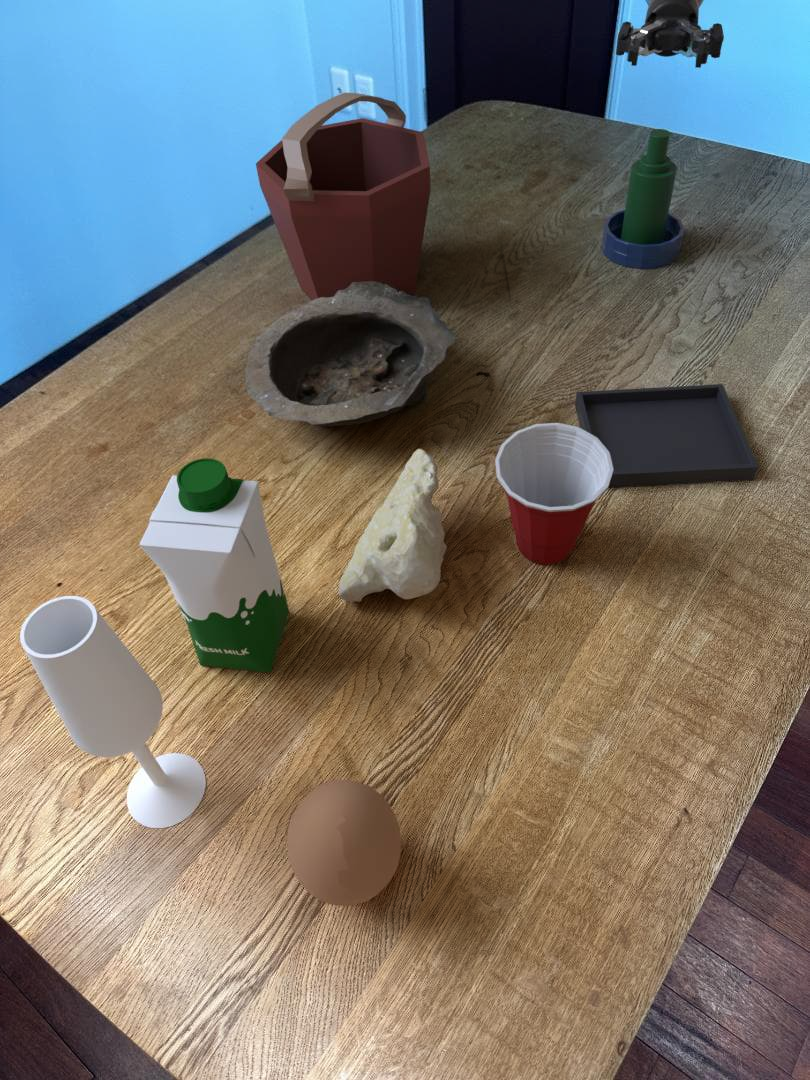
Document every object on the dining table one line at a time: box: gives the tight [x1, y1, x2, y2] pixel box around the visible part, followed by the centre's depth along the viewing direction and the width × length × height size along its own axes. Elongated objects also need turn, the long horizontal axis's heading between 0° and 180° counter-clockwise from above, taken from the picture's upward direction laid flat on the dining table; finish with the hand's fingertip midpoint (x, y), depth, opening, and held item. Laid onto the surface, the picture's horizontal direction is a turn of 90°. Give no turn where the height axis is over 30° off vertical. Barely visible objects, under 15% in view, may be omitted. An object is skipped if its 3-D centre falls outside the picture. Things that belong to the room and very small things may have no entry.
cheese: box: [338, 448, 448, 603], centre depth 81 cm, size 15×7×15 cm
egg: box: [286, 779, 402, 907], centre depth 59 cm, size 8×8×11 cm
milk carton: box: [139, 457, 290, 674], centre depth 71 cm, size 9×9×20 cm
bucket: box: [255, 92, 432, 302], centre depth 109 cm, size 24×22×25 cm
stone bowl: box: [244, 281, 457, 427], centre depth 99 cm, size 25×25×9 cm
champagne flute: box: [19, 595, 207, 829], centre depth 60 cm, size 7×7×24 cm
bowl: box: [601, 209, 685, 270], centre depth 118 cm, size 11×11×4 cm
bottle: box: [621, 128, 678, 245], centre depth 113 cm, size 6×6×16 cm
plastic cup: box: [494, 422, 614, 566], centre depth 79 cm, size 11×11×12 cm
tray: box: [574, 383, 759, 488], centre depth 92 cm, size 17×14×2 cm
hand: (667, 58), depth 110 cm, fingers open, 8 cm apart
